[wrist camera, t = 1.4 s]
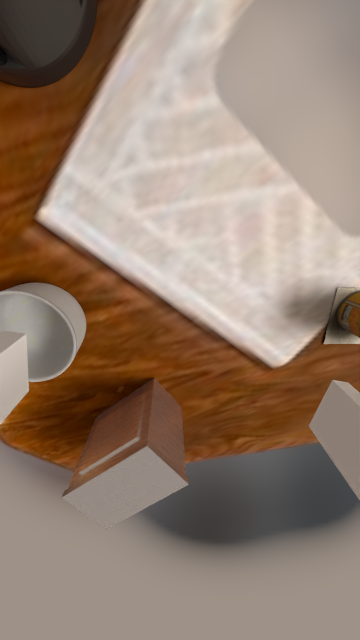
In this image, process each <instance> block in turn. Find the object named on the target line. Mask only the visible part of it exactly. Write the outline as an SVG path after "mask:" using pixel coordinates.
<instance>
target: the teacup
mask: <svg viewBox="0 0 360 640" xmlns="http://www.w3.org/2000/svg"><path fill="white" fill-rule="evenodd" d="M4 331H11V332H18V333H25V334H26V335H27V358H28V381H29V382H40V381H45V380H49V379H52V378H54V377H56V376H58V375H60V374H61V373H63V372H64V371H65V370H66V369H67V368H68V367H69V366H70V364H71V363H72V361H73V359H74V357H75V355H76V353H77V351H78V349H79V348H80V346H81V344H82V342H83V339H84V336H85V332H86V319H85V315H84V312H83V310H82V308H81V306H80V305H79V303H78V302H77V301H76V299H75V298H74V297H73V296H71V295H70V294H69V293H68V292H66V291H65V290H63V289H61V288H59V287H57V286H54V285H51V284H46V283H26V284H21V285H18V286H14V287H12V288H9V289H6V290H4V291H0V334H1V333H3V332H4Z"/></svg>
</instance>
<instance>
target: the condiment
mask: <svg viewBox="0 0 360 640" xmlns="http://www.w3.org/2000/svg"><path fill="white" fill-rule="evenodd" d="M349 343H351V344H360V288H338V289H337V293H336V296H335V299H334V304H333V307H332V312H331V316H330V321H329V324H328V328H327V331H326V337H325V341H324V344H349Z"/></svg>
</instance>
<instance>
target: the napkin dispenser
mask: <svg viewBox="0 0 360 640" xmlns="http://www.w3.org/2000/svg"><path fill="white" fill-rule="evenodd" d="M188 484H189V482H188V477H187V476H186V473H185V457H184V441H183V425H182V409H181V406H180V405H179V404H178V403H177V402H176V400H175V399H174V398H173V397H172V396H171V395H170V394H169V393H168V392H167V391H166V390H165V389H164V388H163V386H162V385H161V384H160V383H159V382H158V381H157V380H156V379H155V378H153V379H152V380H150V381H149V382H147V383H146V384H144V385H143V386H141V387H140V388H138V389H137V390H135V391H134V392H132V393H131V394H129V395H128V396H126V397H125V398H123V399H122V400H120V401H119V402H117V403H116V404H114V405H113V406H111V407H110V408H108V409H107V410H105V411H104V412H102V413H101V414H99V415H98V416H96V419H95V421H94V424H93V426H92V429H91V431H90V434H89V436H88V439H87V441H86V444H85V446H84V449H83V451H82V454H81V456H80V459H79V461H78V464H77V466H76V469H75V471H74V474H73V476H72V479H71V481H70V484H69V486H68V489H66V490H65V491H64V492H63V495H62V497H61V498H62V499H64V500H65V501H67V502H68V503H69V504H71V505H73V506H74V507H75V508H77V509H78V510H79V511H81V512H82V513H84V514H85V515H87V516H88V517H89V518H91V519H92V520H94V521H95V522H97V523H98V524H100V525H101V526H102V527H104V528H105V529H108V528H110V527H111V526H113V525H115V524H117V523H119V522H120V521H122V520H124V519H126V518H128V517H130V516H132V515H133V514H135V513H137V512H139V511H141V510H142V509H144V508H146V507H148V506H150V505H152V504H154V503H155V502H157V501H159V500H161V499H163V498H165V497H166V496H168V495H170V494H172V493H174V492H176V491H178V490H179V489H181V488H183V487H185V486H187V485H188Z"/></svg>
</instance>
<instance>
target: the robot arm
mask: <svg viewBox="0 0 360 640" xmlns="http://www.w3.org/2000/svg"><path fill="white" fill-rule="evenodd" d="M96 12H97V0H0V80H2V81H4V82H7V83H10V84H13V85H17V86H23V87H39V86H44V85H48V84H51V83H53V82H56V81H58V80H59V79H61V78H63V77H64V76H65V75H67V74H68V73H69V72H70V71H71V70H72V69H73V68H74V67H75V66H76V65H77V63H78V62H79V61H80V59H81V58H82V56H83V54H84V53H85V51H86V49H87V46H88V44H89V42H90V39H91V36H92V33H93V29H94V24H95V19H96ZM28 391H29V381H28V358H27V335H26V334H25V333H18V332H11V331H4V332H3V333H1V334H0V424H1V423H2V422H3V421H4V419H5V418H6V417H7V416H8V415H9V413H10V412H11V411H12V410H13V409H14V408H15V406H16V405H17V404H18V403H19V402H20V401H21V399H22V398H23V397H24V396H25V395H26V394H27V392H28ZM309 427H310V429H311V430H312V432H313V433H314V435H315V436H316V437H317V439H318V440H319V442H320V443H321V445H322V446H323V448H324V449H325V450H326V452H327V453H328V455H329V456H330V458H331V459H332V460H333V462H334V464H335V465H336V466H337V468H338V469H339V471H340V472H341V474H342V475H343V477H344V478H345V480H346V481H347V482H348V484H349V485H350V487H351V488H352V490H353V491H354V493H355V494H356V495H357V497H358V498H359V500H360V393H359V392H358V391H357V390H356V389H355V388H354V387H352V386H351V385H350V384H349V383H348V382H342V381H335V380H332V382H331V384H330V386H329V388H328V390H327V392H326V394H325V395H324V397H323V399H322V401H321V403H320V405H319V407H318V409H317V411H316V413H315V415H314V417H313V419H312V421H311V423H310V425H309Z"/></svg>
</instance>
